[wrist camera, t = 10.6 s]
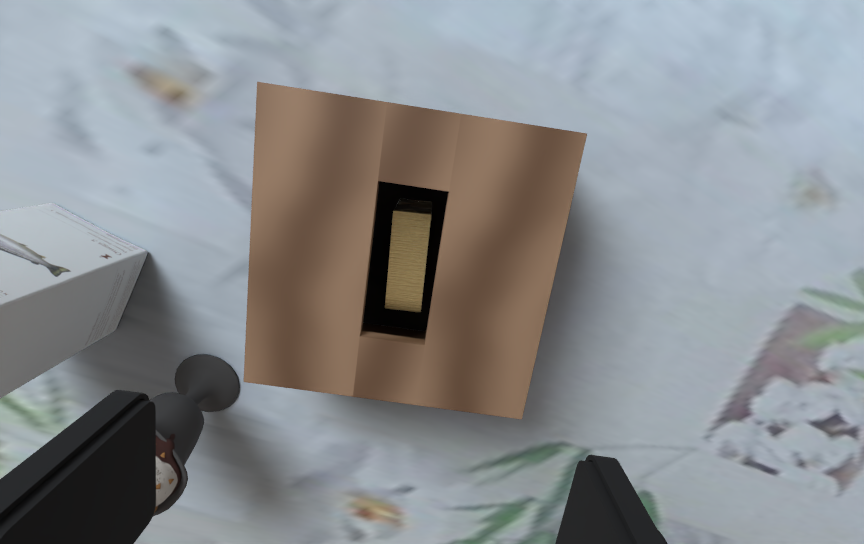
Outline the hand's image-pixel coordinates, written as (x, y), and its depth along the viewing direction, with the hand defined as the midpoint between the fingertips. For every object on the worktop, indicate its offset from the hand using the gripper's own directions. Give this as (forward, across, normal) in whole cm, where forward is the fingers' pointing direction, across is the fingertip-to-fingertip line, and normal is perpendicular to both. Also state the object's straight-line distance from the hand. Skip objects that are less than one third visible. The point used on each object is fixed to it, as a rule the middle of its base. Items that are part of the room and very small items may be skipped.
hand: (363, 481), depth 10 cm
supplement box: (+24, +23, +5) cm, 34 cm away
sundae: (+24, +14, +13) cm, 31 cm away
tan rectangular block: (+21, 0, -3) cm, 22 cm away
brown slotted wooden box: (+24, 0, -1) cm, 24 cm away
